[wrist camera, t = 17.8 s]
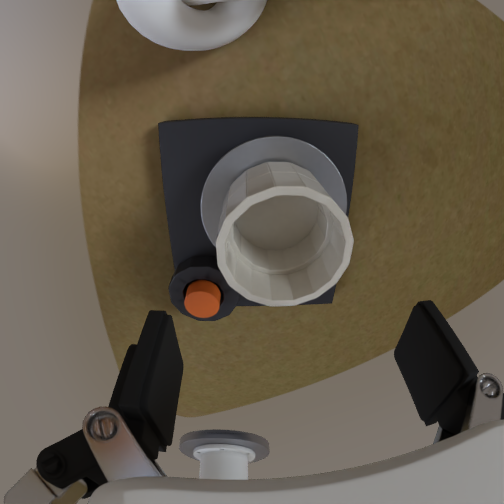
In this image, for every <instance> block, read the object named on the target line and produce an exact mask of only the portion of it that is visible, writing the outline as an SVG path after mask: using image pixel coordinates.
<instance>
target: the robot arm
mask: <svg viewBox="0 0 504 504" xmlns="http://www.w3.org/2000/svg"><path fill="white" fill-rule="evenodd" d="M394 357H395V360H396V362H397V364H398V366H399V369H400V371H401V373H402V375H403V378H404V380H405V382H406V385H407V387H408V389H409V392H410V394H411V396H412V399H413V401H414V404H415V406H416V409H417V411H418V414H419V416H420V418H421V420H423V421H424V422H425V424H426V426H428V425H431V424H434V423H436V422H437V421H438V423H439V428H438V431H437V434H436V437H435V440H434V443H433V444H432V445H430V446H427V447H424V448H422V449H418V450H415V451H413V452H410V453H407V454H403V455H400V456H397V457H393V458H390V459H387V460H383V461H379V462H375V463H372V464H367V465H363V466H358V467H354V468H349V469H344V470H339V471H333V472H327V473H321V474H313V475H306V476H298V477H287V478H273V479H248V463H249V462H251V461H253V460H254V459H255V452H254V451H253V450H251V449H249V448H247V447H243V446H238V445H231V444H207V445H201V446H198V447H196V448H195V449H194V450H193V455H194V457H195V458H197V459H198V460H200V474H199V479H197V478H179V477H167V475H166V474H165V473H164V471H163V470H162V469H161V467H160V466H159V465H158V463H157V462H156V461H155V459H157V458H158V452H159V451H162V452H166V447H167V445H168V446H170V445H171V444H172V438H173V432H174V424H175V418H176V411H177V405H178V398H179V392H180V386H181V380H182V374H183V360H182V356H181V353H180V349H179V345H178V341H177V337H176V332H175V328H174V324H173V320H172V316H171V315H167V313H166V311H153V310H151V311H149V313H148V316H147V319H146V321H145V324H144V327H143V330H142V332H141V335H140V338H139V341H138V344H137V345H135V344H131V345H130V346H129V348H128V350H127V353H126V356H125V358H124V361H123V364H122V367H121V370H120V373H119V376H118V379H117V382H116V385H115V388H114V391H113V394H112V397H111V400H110V403H109V407H98V408H95V409H93V410H91V411H90V412H89V413H88V414H87V415H86V416H85V418H84V420H83V427H82V428H83V429H82V430H80V431H78V432H76V433H74V434H72V435H70V436H68V437H67V438H65V439H63V440H61V441H59V442H57V443H55V444H53V445H51V446H49V447H47V448H45V449H44V450H42V451H41V452H40V454H39V455H38V458H37V467H36V468H35V469H34V470H33V469H32V468H31V469H30V470H29V471H28V472H27V473H26V474H25V475H24V476H23V477H22V478H21V479H20V480H19V481H18V482H17V483H16V484H15V485H14V486H13V487H12V488H11V489H10V490H9V491H8V492H7V493H6V495H5V496H4V504H76V503H77V502H78V501H79V500H80V499H81V498H84V499H85V498H88V497H90V496H91V497H90V499H89V501H88V503H87V504H504V393H503V387H502V384H501V382H500V381H499V379H498V378H497V377H496V376H494V375H492V374H490V373H483V374H481V375H480V376H479V377H477V374H478V372H479V371H478V369H477V367H476V366H475V364H474V363H473V361H472V359H471V358H470V356H469V354H468V353H467V351H466V350H465V348H464V346H463V345H462V343H461V342H460V340H459V339H458V337H457V336H456V334H455V333H454V331H453V330H452V328H451V327H450V325H449V324H448V322H447V321H446V320H445V318H444V317H443V315H442V314H441V312H440V311H439V310H438V308H437V307H436V305H435V304H434V303H433V302H432V301H431V300H428V301H420V302H418V303H417V304H416V306H414V307H413V310H412V312H411V315H410V317H409V319H408V322H407V324H406V326H405V329H404V331H403V333H402V335H401V338H400V340H399V342H398V344H397V346H396V348H395V351H394Z"/></svg>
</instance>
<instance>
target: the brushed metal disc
mask: <svg viewBox="0 0 504 504" xmlns="http://www.w3.org/2000/svg"><path fill="white" fill-rule="evenodd" d="M265 162H289V163H293V164H295V165H297V166H300V167H302V168H304V169H306V170H308V171H310V172H311V173H312V174H313V175H314V176H315V178H316V179H317V180H318V181H319V182H320V183H321V184H322V185H323V187H324V188H325V189H326V190H327V192H328V193H329V194H330V195H331V197H332V198H333V199H334V200H335V202H336V203H337V204H338V205H339V207H340V208H341V209H342V211H343V212H344V213H345V214H346V211H347V194H346V189H345V185H344V182H343V179H342V177H341V175H340V173H339V171H338V169H337V168H336V166H335V165H334V164H333V162H332V161H331V160H330V159H329V158H328V157H327V156H326V155H325V154H324V153H323V152H321V151H320V150H319V149H317V148H316V147H314V146H313V145H311V144H309V143H307V142H305V141H302V140H299V139H296V138H292V137H287V136H264V137H259V138H255V139H252V140H249V141H246V142H244V143H242V144H240V145H238V146H236V147H234V148H233V149H231V150H230V151H228V152H227V153H226V154H225V155H224V156H223V157H222V158H221V159H220V160H219V161H218V162H217V163H216V165H215V166H214V167H213V169H212V170H211V172H210V173H209V176H208V178H207V180H206V182H205V185H204V188H203V191H202V197H201V216H202V222H203V225H204V228H205V231H206V233H207V235H208V237H209V239H210V240H211V242H212V243H213V245H214V246H215V247H216V239H217V233H218V228H219V222H220V218H221V212H222V207H223V203H224V200H225V198H226V195H227V193H228V190H229V188H230V186H231V184H232V183H233V182H234V181H235V180H236V179H237V178H239V177H240V176H241V175H242V174H243V173H244V172H245V171H247V170H248V169H250V168H253V167H255V166H258V165H260V164H263V163H265Z"/></svg>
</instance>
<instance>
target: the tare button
mask: <svg viewBox="0 0 504 504" xmlns="http://www.w3.org/2000/svg"><path fill="white" fill-rule="evenodd" d="M220 297H221V293H220V290H219V288H218V287H217V285H215V284H214V283H213V282H211V281H208V280H197V281H194V282H192V283H191V284H190V285H189V287H188V289H187V293H186V297H185V301H184V305H185V308H186V309H187V311H188V312H189V313H190V314H192V315H194V316H196V317H199V318H208V317H211V316H213V315H215V314H216V313H217V312H218V310H219V307H220Z"/></svg>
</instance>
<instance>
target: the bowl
mask: <svg viewBox="0 0 504 504" xmlns="http://www.w3.org/2000/svg"><path fill="white" fill-rule="evenodd" d="M353 242H354V240H353V235H352V231H351V227H350V223H349V219H348V217H347V216H346V214H345V213H344V212H343V211H342V209H341V208H340V207H339V205H338V204H337V203H336V202H335V200H334V199H333V198H332V197H331V195H330V194H329V193H328V192H327V190H326V189H325V188H324V187H323V185H322V184H321V183H320V182H319V181H318V180H317V179H316V178H315V176H314V175H313V174H312V173H311V172H310V171H308V170H306V169H304V168H302V167H300V166H297V165H295V164H293V163H289V162H265V163H263V164H260V165H258V166H255V167H253V168H250V169H248V170H247V171H245V172H244V173H243V174H242V175H241V176H240V177H239V178H237V179H236V180H235V181H234V182H233V183H232V184H231V186H230V188H229V190H228V193H227V195H226V198H225V200H224V203H223V207H222V212H221V218H220V222H219V228H218V233H217V239H216V252H217V265H218V267H219V269H220V271H221V273H222V274H223V276H224V278H225V280H226V281H227V283H228V285H229V286H230V287H231V288H233V289H234V290H235V291H237V292H238V293H239V294H241V295H242V296H243V297H245V298H246V299H248V300H250V301H254V302H257V303H260V304H264V305H267V306H294V305H298V304H301V303H304V302H307V301H310V300H312V299H315V298H317V297H319V296H320V295H322V294H323V293H324V292H326V291H327V290H328V289H330V288H331V287H332V286H334V285H335V284H336V283H337V282H338V280H339V279H340V277H341V276H342V274H343V273H344V271H345V270H346V268H347V267H348V265H349V263H350V258H351V253H352V248H353Z"/></svg>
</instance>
